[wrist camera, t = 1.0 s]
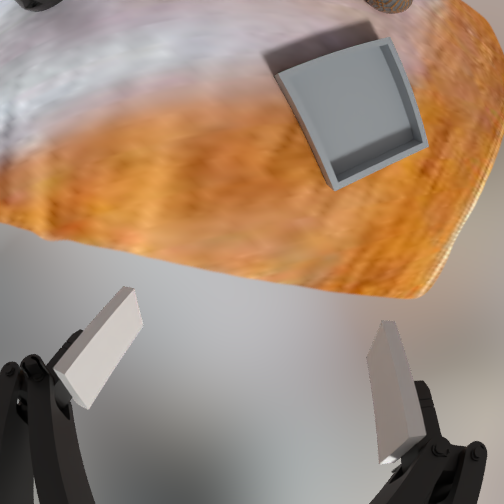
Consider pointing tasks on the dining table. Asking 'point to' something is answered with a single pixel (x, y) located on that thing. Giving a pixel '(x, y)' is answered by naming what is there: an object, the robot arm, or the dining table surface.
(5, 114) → the dining table surface
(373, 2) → the vase
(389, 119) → the box
